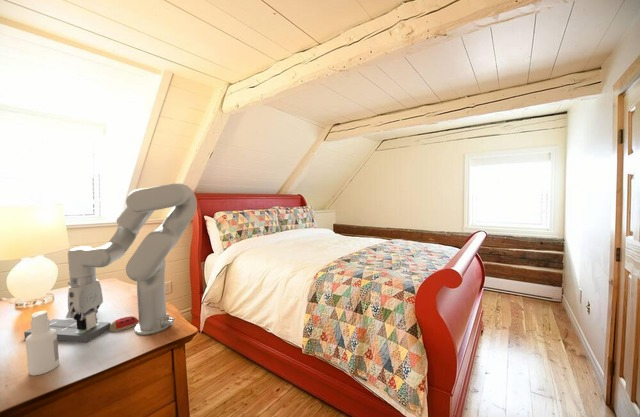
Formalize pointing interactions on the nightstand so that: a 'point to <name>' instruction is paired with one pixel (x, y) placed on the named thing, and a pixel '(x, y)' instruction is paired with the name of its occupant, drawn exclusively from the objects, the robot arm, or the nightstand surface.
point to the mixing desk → (75, 330)
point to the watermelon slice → (123, 323)
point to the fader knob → (90, 319)
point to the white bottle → (41, 345)
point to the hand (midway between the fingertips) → (87, 325)
